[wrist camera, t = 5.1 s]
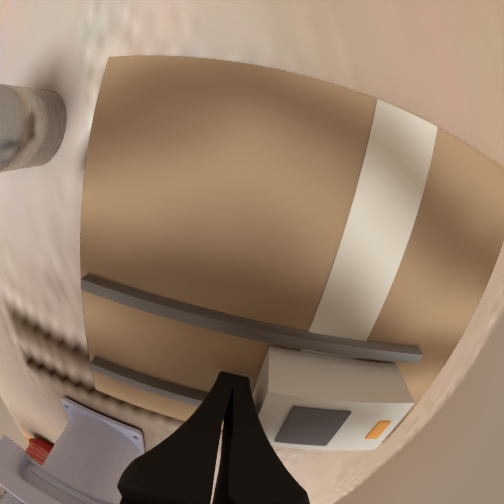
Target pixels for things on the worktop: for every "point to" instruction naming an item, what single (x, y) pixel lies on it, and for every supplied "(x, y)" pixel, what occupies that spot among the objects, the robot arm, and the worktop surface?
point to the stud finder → (328, 400)
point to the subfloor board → (272, 229)
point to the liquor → (34, 455)
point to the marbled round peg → (29, 126)
